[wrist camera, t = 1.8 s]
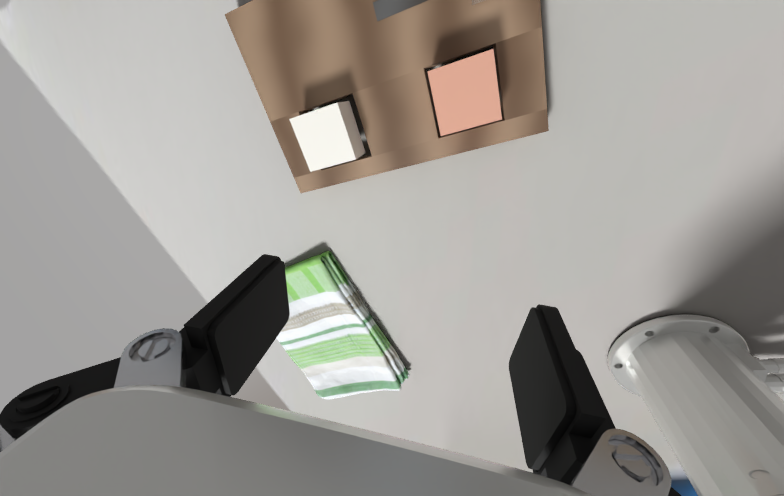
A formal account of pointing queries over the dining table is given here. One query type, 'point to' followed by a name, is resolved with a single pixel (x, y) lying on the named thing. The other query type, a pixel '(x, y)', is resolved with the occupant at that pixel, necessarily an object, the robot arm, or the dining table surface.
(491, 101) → the terracotta button
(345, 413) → the dining table surface
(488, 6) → the switch board
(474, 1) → the slider knob
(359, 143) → the cream button
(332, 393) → the dish towel
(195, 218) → the dining table surface
